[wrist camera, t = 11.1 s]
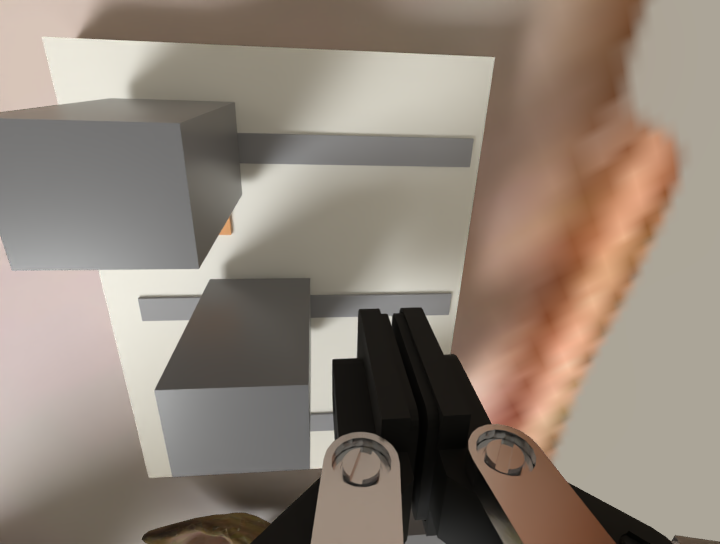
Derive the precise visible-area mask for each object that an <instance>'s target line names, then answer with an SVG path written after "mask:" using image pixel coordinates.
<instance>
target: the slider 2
mask: <svg viewBox="0 0 720 544" xmlns="http://www.w3.org/2000/svg"><path fill="white" fill-rule="evenodd" d="M154 392H155V397H156V402H157V406H158V411H159V416H160V421H161V426H162V430H163V435H164V440H165V445H166V449H167V454H168V459H169V464H170V468H171V473H172V477H181V476H199V475H217V474H234V473H252V472H270V471H287V470H305V469H310V414H311V304H310V278H267V279H210V280H209V282H208V284H207V286H206V288H205V290H204V292H203V294H202V296H201V298H200V300H199V302H198V304H197V306H196V308H195V310H194V312H193V314H192V316H191V318H190V320H189V322H188V324H187V326H186V328H185V330H184V332H183V334H182V336H181V338H180V340H179V342H178V344H177V346H176V348H175V350H174V352H173V354H172V356H171V358H170V360H169V362H168V364H167V366H166V368H165V370H164V372H163V374H162V376H161V378H160V380H159V382H158V384H157V386H156V388H155V390H154Z"/></svg>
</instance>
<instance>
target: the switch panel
mask: <svg viewBox="0 0 720 544" xmlns="http://www.w3.org/2000/svg"><path fill="white" fill-rule="evenodd" d="M42 40H43V44H44V48H45V52H46V57H47V61H48V65H49V69H50V73H51V77H52V81H53V85H54V89H55V94H56V98H57V102H58V105H61V104H68V103H76V102H84V101H92V100H100V99H107V98H123V99H155V100H187V101H218V102H235V111H236V123H237V136H238V148H239V160H240V173H241V185H242V196H241V198H240V199H239V201H238V203H237V205H236V206H235V208H234V210H233V211H232V213H231V215H230V217H229V218H228V220H227V222H226V223H225V225H224V227H223V229H222V230H221V232H220V234H219V236H218V237H217V239H216V241H215V242H214V244H213V246H212V248H211V249H210V251H209V253H208V255H207V256H206V258H205V260H204V261H203V263H202V265H201V267H200V268H199V269H141V270H98V271H99V275H100V279H101V283H102V287H103V291H104V296H105V300H106V304H107V308H108V312H109V316H110V320H111V324H112V329H113V333H114V337H115V341H116V345H117V349H118V353H119V357H120V362H121V366H122V370H123V374H124V378H125V382H126V386H127V390H128V395H129V399H130V403H131V407H132V411H133V415H134V419H135V423H136V428H137V432H138V436H139V440H140V444H141V448H142V452H143V456H144V460H145V465H146V469H147V473H148V477H149V478H159V477H172V473H171V468H170V464H169V459H168V454H167V449H166V445H165V440H164V435H163V430H162V426H161V421H160V416H159V411H158V406H157V402H156V397H155V392H154V390H155V388H156V386H157V384H158V382H159V380H160V378H161V376H162V374H163V372H164V370H165V368H166V366H167V364H168V362H169V360H170V358H171V356H172V354H173V352H174V350H175V348H176V346H177V344H178V342H179V340H180V338H181V336H182V334H183V332H184V330H185V328H186V326H187V324H188V322H189V320H190V318H191V316H192V314H193V312H194V310H195V308H196V306H197V304H198V302H199V300H200V298H201V296H202V294H203V292H204V290H205V288H206V286H207V284H208V282H209V280H210V279H267V278H310V304H311V414H310V469H318V468H322V466H323V460H324V456H325V453H326V450H327V449H328V447H329V446H330V445H331V444H332V442H333V441H335V438H334V422H333V402H332V359H347V358H357V334H358V311H359V309H377V308H379V309H380V311H381V314H388V316H389V319H390V322H391V326H392V315H393V313H399V311H400V308H412V307H421V308H422V309H423V311H424V313H425V315H426V317H427V320H428V322H429V324H430V326H431V328H432V330H433V332H434V335H435V337H436V339H437V341H438V343H439V345H440V348H441V350H442V352H443V354H444V355H446V354H451V347H452V340H453V334H454V327H455V320H456V314H457V307H458V300H459V294H460V287H461V280H462V274H463V267H464V260H465V254H466V247H467V240H468V234H469V227H470V220H471V214H472V207H473V201H474V194H475V187H476V181H477V174H478V167H479V161H480V154H481V147H482V141H483V134H484V127H485V121H486V114H487V107H488V101H489V94H490V87H491V81H492V74H493V67H494V61H495V57H481V56H459V55H437V54H415V53H392V52H370V51H348V50H326V49H304V48H281V47H259V46H237V45H215V44H192V43H170V42H148V41H126V40H104V39H81V38H59V37H42Z"/></svg>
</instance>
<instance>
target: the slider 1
mask: <svg viewBox="0 0 720 544" xmlns="http://www.w3.org/2000/svg"><path fill="white" fill-rule="evenodd" d="M241 196H242V185H241V173H240V160H239V148H238V136H237V123H236V111H235V102H218V101H187V100H155V99H123V98H107V99H100V100H92V101H84V102H76V103H68V104H61V105H53V106H45V107H37V108H29V109H21V110H14V111H6V112H0V236H1V239H2V242H3V245H4V248H5V251H6V254H7V257H8V260H9V263H10V266H11V269H12V271H17V270H141V269H199V268H200V267H201V265H202V263H203V261H204V260H205V258H206V256H207V255H208V253H209V251H210V249H211V248H212V246H213V244H214V242H215V241H216V239H217V237H218V236H219V234H220V232H221V230H222V229H223V227H224V225H225V223H226V222H227V220H228V218H229V217H230V215H231V213H232V211H233V210H234V208H235V206H236V205H237V203H238V201H239V199H240V198H241Z"/></svg>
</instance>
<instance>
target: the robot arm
mask: <svg viewBox="0 0 720 544" xmlns="http://www.w3.org/2000/svg"><path fill="white" fill-rule="evenodd" d="M332 402H333V422H334V438H335V441H333V442H332V444H331V445H330V446H329V447H328V449H327V450H326V453H325V456H324V460H323V466H322V473H321V477H320V478H319V479H318V480H317V481H316V482H315V483H314V484H313V485H312V486H311V487H310V488H309V489H308V490H306V491H305V492H304V493H303V494H302V495H301V496H300V497H299V498H298V499H297V500H296V501H295V502H294V503H293V504H292V505H290V506H289V507H288V508H287V509H286V510H285V511H284V512H283V513H282V514H281V515H280V516H279V517H278V518H277V519H276V520H275V521H273V522H272V523H271V524H270V525H269V526H268V527H267V528H266V529H265V530H264V531H263V532H262V533H261V534H260V535H259V536H257V537H256V538H255V539H254V540H253V541H252V542H251V543H250V544H405V542H406V541H407V537H408V528H409V520H410V511H411V509H412V514H413V517H414V520H415V521H416V520H422V522H423V526H424V530H425V534H426V536H436V535H437V538H439V539H440V540H441V541H443V542H444V543H446V544H720V542H718V541H712V540H705V539H698V538H690V537H684V536H676V535H675V536H674V538H673V540H672V541H670V540H668V538H666V537H665V536H664V535H662V534H661V533H659V532H657V531H656V530H655V529H653V528H652V527H650V526H648V525H646V524H644V523H642V522H640V521H639V520H637V519H635V518H633V517H631V516H629V515H627V514H626V513H624V512H622V511H620V510H618V509H616V508H614V507H612V506H611V505H609V504H607V503H605V502H603V501H601V500H600V499H598V498H596V497H594V496H592V495H590V494H588V493H586V492H584V491H583V490H581V489H579V488H577V487H575V486H573V485H571V484H570V483H568V482H567V481H566V480H565V479H564V477H563V476H562V475H561V474H560V472H559V471H558V470H557V469H556V467H555V466H554V465H553V464H552V462H551V461H550V460H549V459H548V457H547V456H546V455H545V454H544V452H543V451H542V450H541V448H540V447H539V446H538V445H537V444H536V443H535V442H534V441H533V440H532V439H531V438H530V437H529V436H527V435H526V434H524V433H523V432H521V431H520V430H517V429H515V428H512V427H510V426H505V425H500V424H491V422H490V420H489V418H488V416H487V414H486V412H485V410H484V408H483V406H482V404H481V402H480V400H479V398H478V396H477V394H476V392H475V390H474V388H473V386H472V384H471V382H470V381H469V379H468V377H467V375H466V373H465V371H464V369H463V367H462V365H461V363H460V361H459V359H458V358H457V356H456V355H454V354H446V355H444V354H443V352H442V350H441V348H440V345H439V343H438V341H437V339H436V337H435V335H434V332H433V330H432V328H431V326H430V324H429V322H428V320H427V317H426V315H425V313H424V311H423V309H422V308H421V307H412V308H400V311H399V313H393V315H392V326H391V322H390V319H389V316H388V314H381V311H380V309H379V308H377V309H359V311H358V334H357V358H347V359H332Z"/></svg>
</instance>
